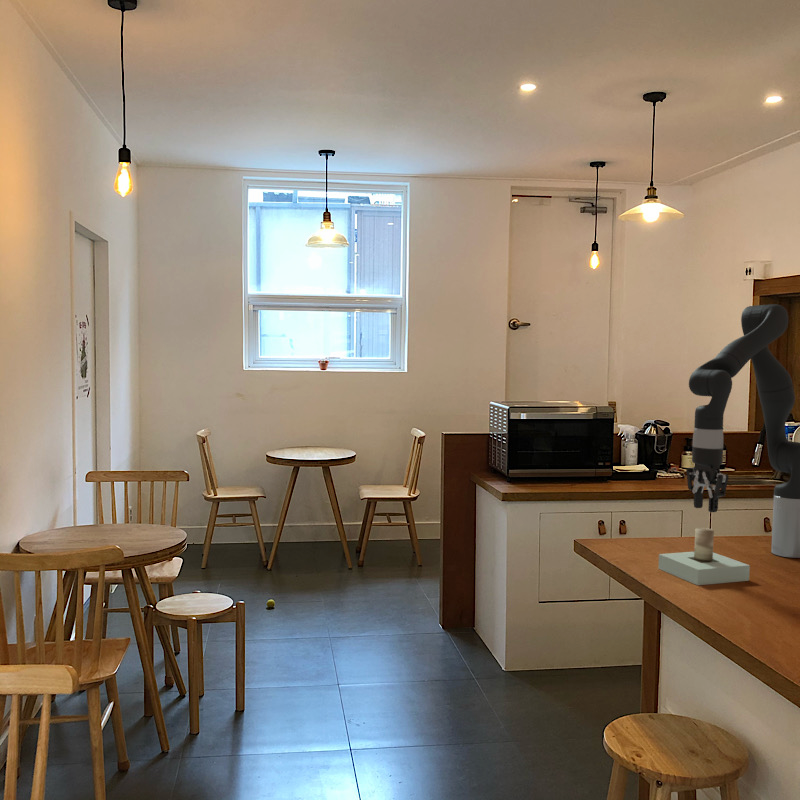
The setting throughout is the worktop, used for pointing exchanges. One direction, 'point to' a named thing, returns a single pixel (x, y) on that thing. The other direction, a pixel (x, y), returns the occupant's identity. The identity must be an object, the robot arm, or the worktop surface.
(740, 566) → the board
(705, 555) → the peg
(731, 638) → the worktop surface
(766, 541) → the worktop surface
